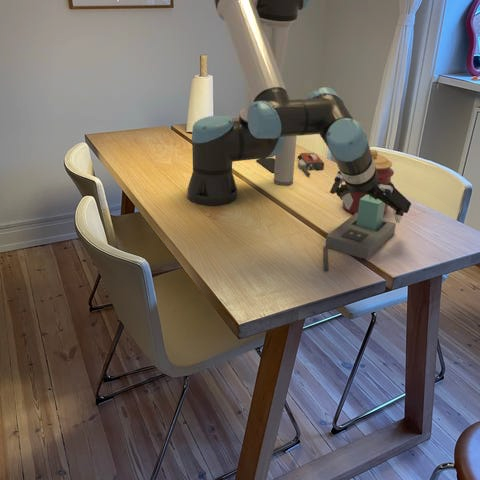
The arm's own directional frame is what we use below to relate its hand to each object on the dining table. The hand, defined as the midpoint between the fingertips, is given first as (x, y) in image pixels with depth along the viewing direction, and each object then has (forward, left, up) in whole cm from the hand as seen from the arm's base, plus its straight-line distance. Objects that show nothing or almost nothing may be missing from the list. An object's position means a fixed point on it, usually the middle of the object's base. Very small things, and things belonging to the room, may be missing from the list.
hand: (374, 211), depth 128 cm
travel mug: (-6, +40, -6) cm, 41 cm away
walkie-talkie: (+10, +51, -6) cm, 52 cm away
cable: (-20, -10, -6) cm, 23 cm away
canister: (+7, +13, -6) cm, 16 cm away
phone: (-2, +56, -6) cm, 57 cm away
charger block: (-2, -1, -6) cm, 6 cm away
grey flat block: (-6, -4, -6) cm, 9 cm away
